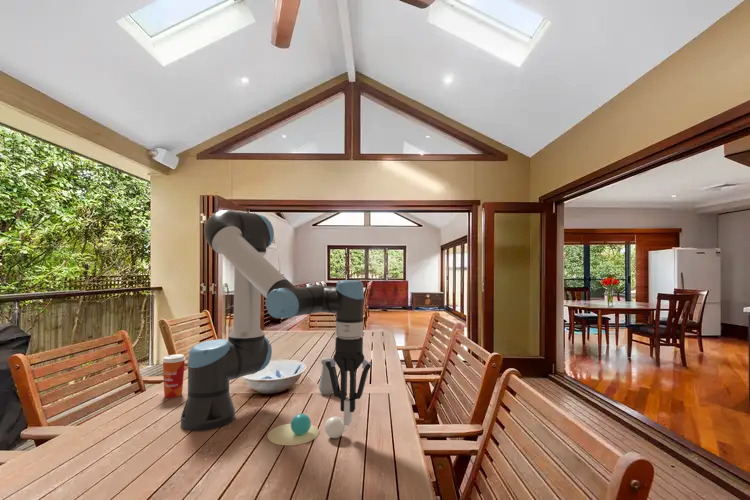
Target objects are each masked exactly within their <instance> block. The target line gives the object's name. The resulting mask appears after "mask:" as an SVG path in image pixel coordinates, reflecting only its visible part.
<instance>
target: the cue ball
mask: <svg viewBox="0 0 750 500" xmlns="http://www.w3.org/2000/svg"><path fill="white" fill-rule="evenodd" d="M345 428H346V425H344V419H342V418H341V417H340V416H335V415H334V416H331V417H329V418H328V419H327V420H326V422H325V425H324V431H325V433H326V435H327V437H329V438H330V439H338V438H340V437H342V435H343V434H344V432H345Z"/></svg>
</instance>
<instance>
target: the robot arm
mask: <svg viewBox="0 0 750 500" xmlns="http://www.w3.org/2000/svg"><path fill="white" fill-rule="evenodd" d="M203 233H204V238H205V240H206V243H207V244H208V245H209V247H210V248H211V249H212V250H213V251H214V252H216V253H217V254H219V255H223V256H224V257H225V258H226V259H227V260H228V261H229V262H230V263H231V265H233V266H234V273H233V274H234V277H233V278H234V282H233V284H234V285H233V286H234V287H233V288H234V289H233V323H232V325H233V326H232V328H233V329H232V331H231V332H230V333H228V337H227V339H225V338H224V339H223V338H218V339H217V338H216V339H213V340H210V339H209V340H206V341H202V342H199V343H197V344H195V345H194V346H192V347H191V348H190V350H189V352H188V360H187V367H188V368H187V399H186V402H185V403H184V404H185V405H184V406H183V410H182V413H181V416H180V427H181V428H182V429H184V430H187V431H193V432H194V431H195V432H199V431H210V430H215V429H218V428H221V427H224V426H226V425H228V424H230V423H232V422H233V421H234V420H235V418H236V409H235V406H234V403H233V400H232V396H231V393H230V381H231V380H235V379H239V378H241V377H242V378H243V377H245V376H249V375H254V374H256V373H258V372H260V371H263V370H265V369H266V367H267V366H268V365H269V363H270V361H271V358H272V355H273V351H272V350H273V349H272V344H270V340H269V339H268V337H266V336H265V335H266V334H265V332H264V331H263V330H262V329H261V303H262V300H261V299H262V296H263V297H264V298H265V308H266V309H267V313H268V315H269V316H271V317H272V318H274V319H290V318H295V317H298V316H305V315H312V314H318V313H329V314H335V335H336V337H335V347H334V348H335V351H334V355H333V357H331V358H332V359H331V360H328V361H327V362H326V363H325V364H326V366H327V368H328V370H329V373H330V378H331V383H332V388H333V393H332V394H333V396H334V397H335V398H338V399H339V401H340V411H341V412H343V421H344V425H345V426H350V425H351V423H352V415H353V413H354V411H355V410H356V400H360V399H361V397H362V395H363V392H364V389H365V386H366V381H367V378H368V374H369V370H370V369H371V367H372V366H373V363H372V362H371V361H368V360H366V359H365V355H364V351H363V348H364V346H363V345H364V339H363V337H362V336H363V335H364V301H365V295H364V284H363V282H362V281H361V280H355V279H353V280H351V279H350V280H349V279H342V280H338V281H336V286H328V285H320V284H310V285H307V286H301V287H300V286H299V287H298V286H297V287H296V286H295V285H294V283H291V281H289V280H288V279H287V277H285V275H284V274H282V272H280V271H279V270H278V269H277V268H276V267H275V266H274V265H272V263H271V262H270V261H268V260H267V259H266V257H264V256H266V254H267V248H269V247H270V246H271V245H272V243H273V241H274V237H275V232H274V227H273V224H272V222H271V221H270V220H269V219H268V218H267V217H266V216H265V215H262V214H261V215H260V214H257V213H253V212H252V213H251V212H243V211H237V210H236V211H235V210H230V209H229V210H228V209H223V210H218V211H217V212H214V213H213V214H211V215H210V216H209V217H208V219H207V220H206V222H205V223H204V227H203ZM261 295H262V296H261ZM336 365H337V367H338V369H340V370H339V371H340V372H339V373H340V384H339V379H338V372H337V369H336ZM361 366H362V369H363V370H362V372H361V375H360V380H359V384H358V387H357V370H358V368H360V367H361ZM348 372H349V396H348ZM347 396H348V397H347Z"/></svg>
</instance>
